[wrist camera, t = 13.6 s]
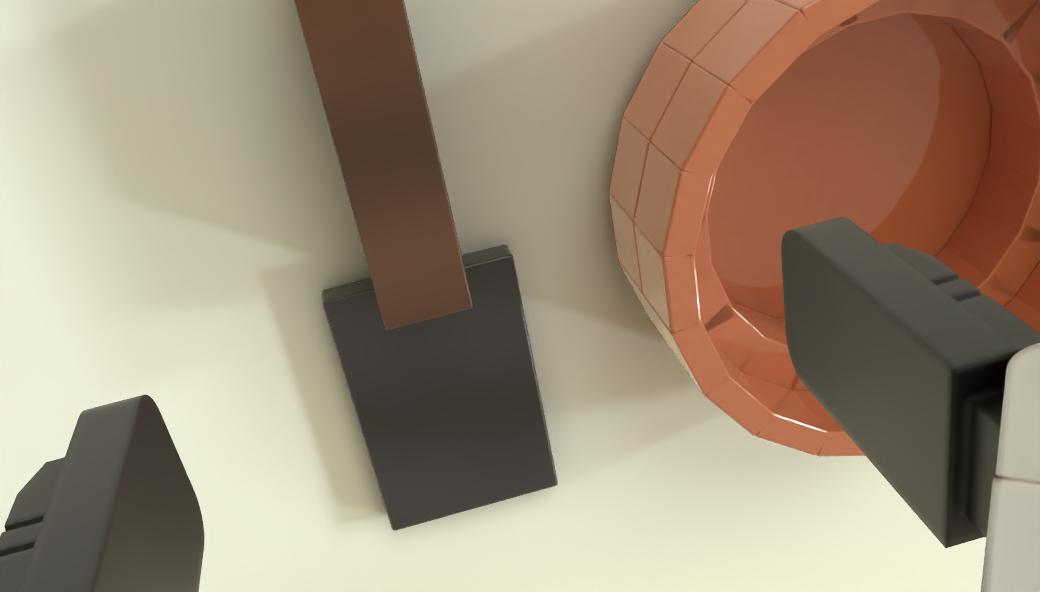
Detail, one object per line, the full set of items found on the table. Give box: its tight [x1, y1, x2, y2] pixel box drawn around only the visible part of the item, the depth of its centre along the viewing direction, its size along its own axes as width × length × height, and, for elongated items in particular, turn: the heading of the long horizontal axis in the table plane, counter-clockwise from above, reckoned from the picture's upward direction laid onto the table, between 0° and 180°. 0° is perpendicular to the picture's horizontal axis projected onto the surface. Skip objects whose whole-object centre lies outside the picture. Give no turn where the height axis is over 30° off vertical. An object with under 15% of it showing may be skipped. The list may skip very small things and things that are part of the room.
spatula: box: [294, 0, 558, 530], centre depth 25 cm, size 17×5×3 cm, turn 10°
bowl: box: [609, 0, 1040, 456], centre depth 26 cm, size 13×13×5 cm
